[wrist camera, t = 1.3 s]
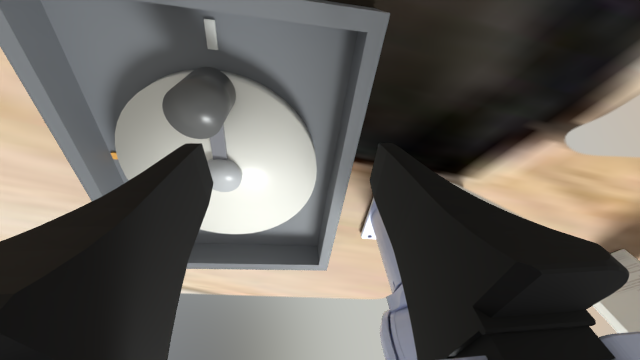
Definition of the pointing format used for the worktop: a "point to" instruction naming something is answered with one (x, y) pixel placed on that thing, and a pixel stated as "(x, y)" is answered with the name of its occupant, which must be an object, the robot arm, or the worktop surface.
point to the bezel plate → (189, 54)
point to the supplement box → (624, 298)
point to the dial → (224, 145)
